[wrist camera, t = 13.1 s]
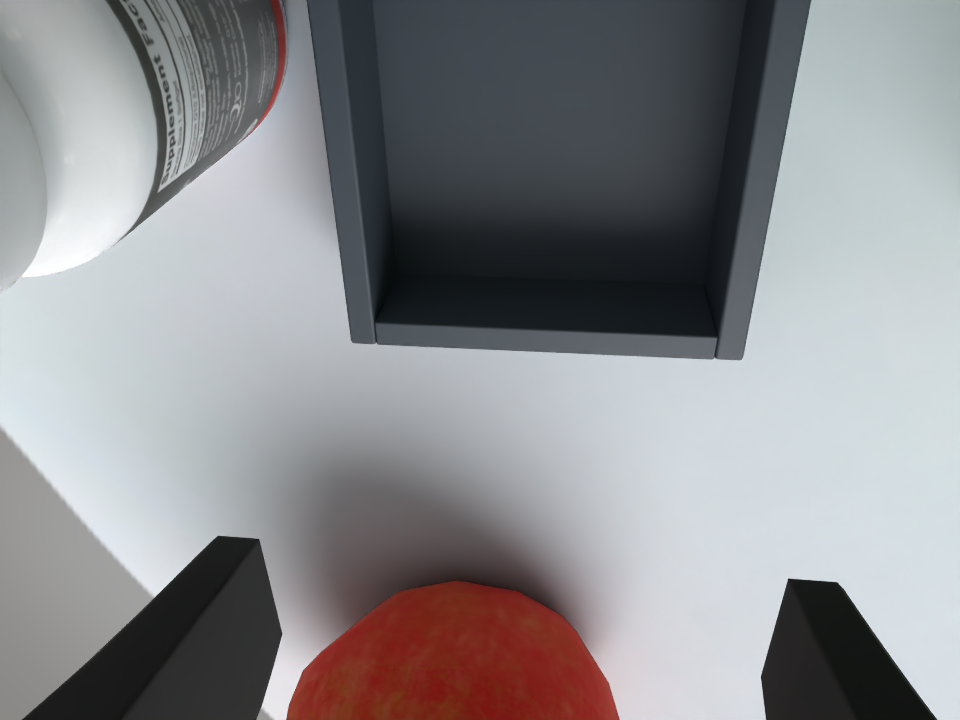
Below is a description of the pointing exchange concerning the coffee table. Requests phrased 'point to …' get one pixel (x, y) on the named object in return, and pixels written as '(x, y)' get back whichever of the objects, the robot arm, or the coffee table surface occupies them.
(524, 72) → the dark grey shallow tray
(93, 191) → the pill bottle
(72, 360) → the coffee table surface
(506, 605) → the apple
